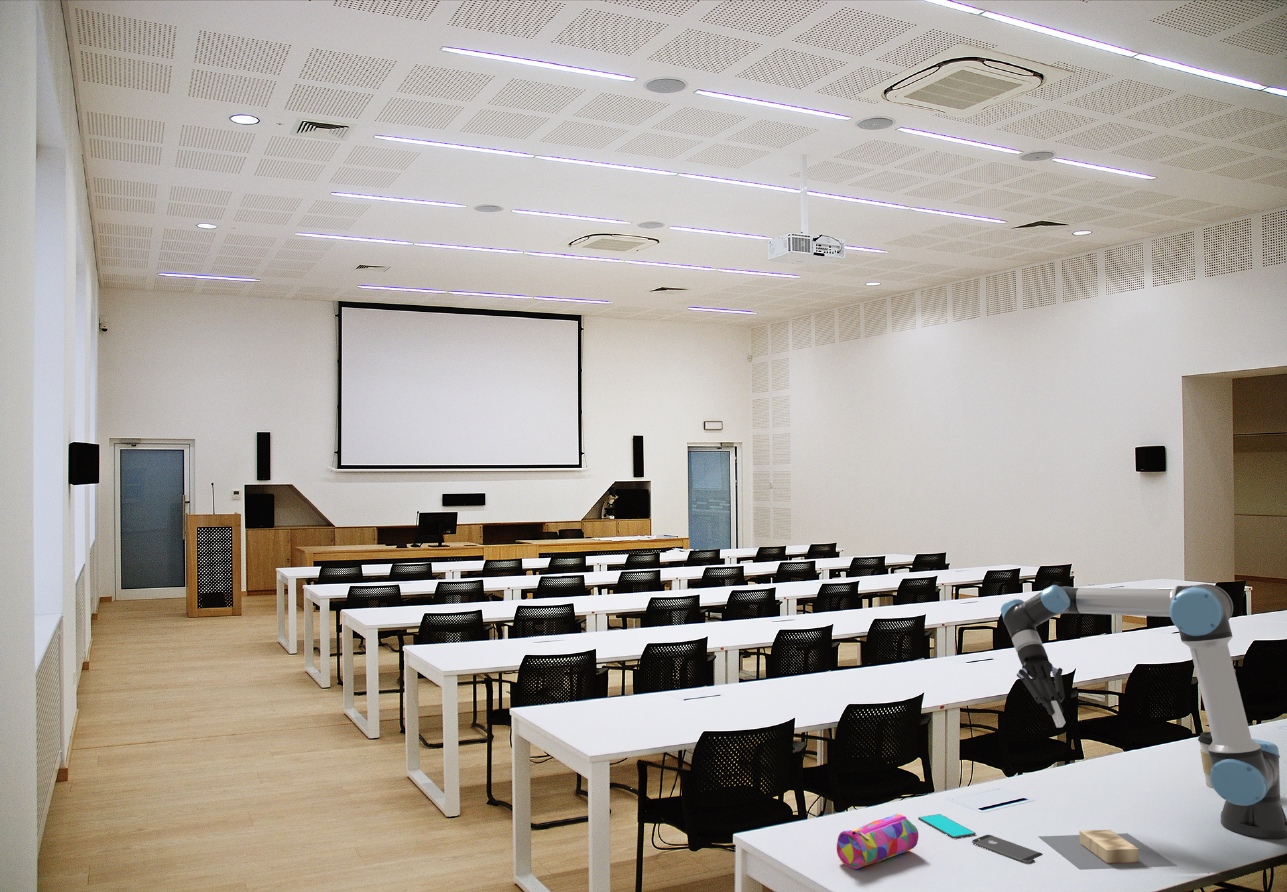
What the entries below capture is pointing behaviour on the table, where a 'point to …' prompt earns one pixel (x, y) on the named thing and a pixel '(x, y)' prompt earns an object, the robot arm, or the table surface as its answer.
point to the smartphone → (946, 826)
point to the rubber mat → (1088, 860)
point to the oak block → (1109, 846)
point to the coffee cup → (1206, 755)
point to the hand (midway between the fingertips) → (1061, 724)
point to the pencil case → (876, 841)
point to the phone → (1007, 848)
